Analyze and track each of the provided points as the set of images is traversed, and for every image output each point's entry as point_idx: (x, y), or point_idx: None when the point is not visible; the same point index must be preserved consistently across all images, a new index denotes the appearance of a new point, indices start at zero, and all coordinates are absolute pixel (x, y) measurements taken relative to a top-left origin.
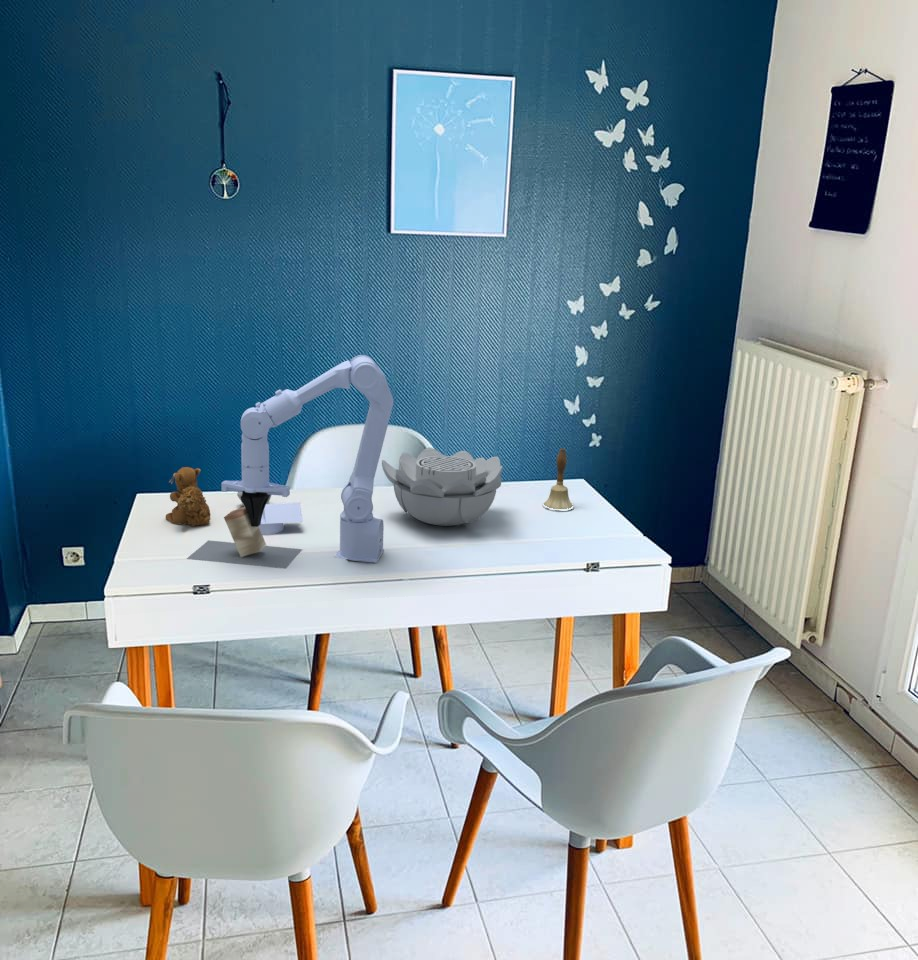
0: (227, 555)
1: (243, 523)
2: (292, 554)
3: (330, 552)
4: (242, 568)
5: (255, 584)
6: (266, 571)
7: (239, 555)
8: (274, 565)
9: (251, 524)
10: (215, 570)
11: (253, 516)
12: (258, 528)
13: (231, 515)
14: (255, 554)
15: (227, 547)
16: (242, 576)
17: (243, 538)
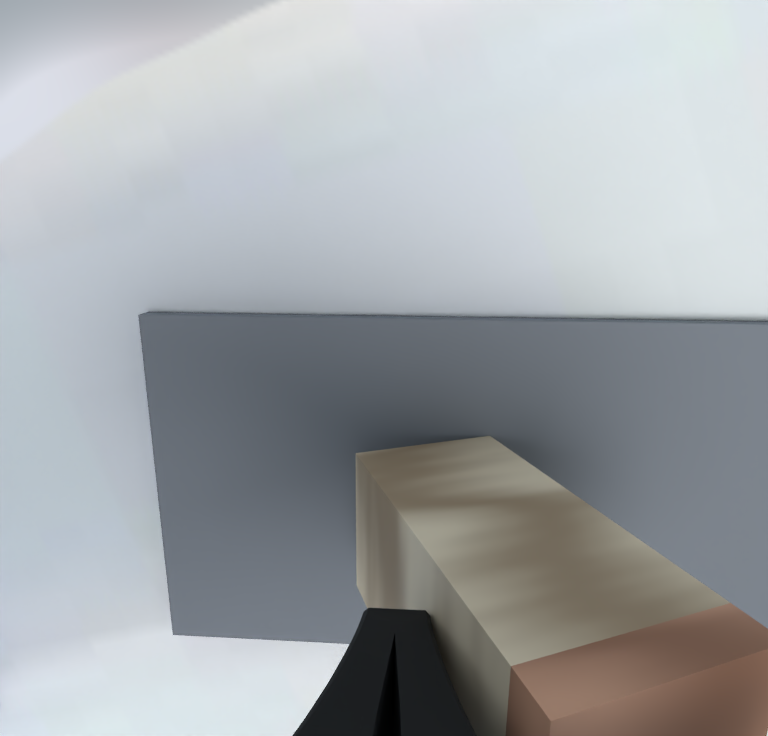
0: (588, 446)
1: (503, 590)
2: (194, 546)
3: (33, 642)
4: (429, 290)
5: (239, 19)
6: (260, 277)
7: None
8: (226, 347)
9: (426, 620)
10: (598, 209)
11: (398, 696)
12: None
13: (694, 664)
14: None
15: None
16: (379, 146)
17: (485, 501)
